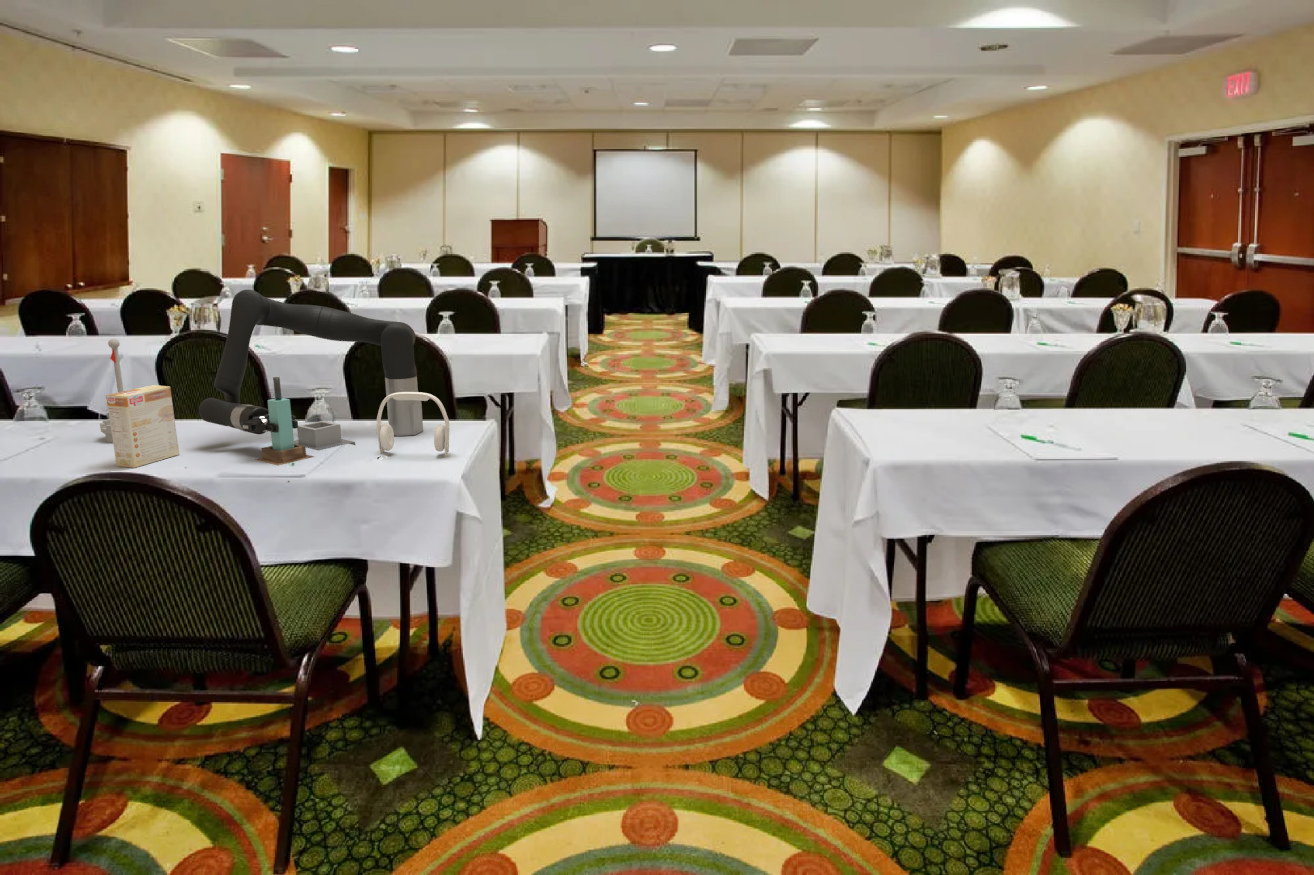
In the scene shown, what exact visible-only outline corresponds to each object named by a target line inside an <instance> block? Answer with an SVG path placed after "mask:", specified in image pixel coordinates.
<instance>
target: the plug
mask: <svg viewBox="0 0 1314 875" xmlns="http://www.w3.org/2000/svg"><path fill="white" fill-rule="evenodd" d="M280 378H281V377H280V376H274V377H272V380H273V381H272V382H273V390H274V398H272V399H268V400H267V410H269V420H270V423H274V424H277V425H278V430H279V432H277V433H274V432H270V438H271V446H272V448H273V449H274V450H278V451H282V450H286V449H291V448H295V447H294V441H295V439H294V428H293V427H292V417H291V415H292V410H291V409H292V408H291V399H289V398H286V397H282V389H281V379H280Z"/></svg>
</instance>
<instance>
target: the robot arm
mask: <svg viewBox="0 0 1314 875" xmlns="http://www.w3.org/2000/svg"><path fill="white" fill-rule="evenodd" d="M229 317H230V318H229V325H228V331H227V336H226V340H225V344H224V347H223V351H222V355H221V358H220V361H219V365H218V369H217V372H216V375H215V378H214V383H213V386H214V388H215V390H218V391H220V392H221V393H223V395H224V399H223V400H222V399H219V398H215V397H207V398H205V399H204V400H203V401H201V403H200V404H199V407H198V414H199V416H200V418H201V419H202V420H203V421H204V422H206V423H210V424H211V423H212V424H215V425H219V426H224V427H229V428H233V429H237V430H240V431H242V432H245V433H250V434H254V435H263V434H265V433H268V432H270V433H271V432H274V433H277V432H279V430H278V425H277V424H274V423H270V420H269V410H268V408H266V407H262V406H259V405H258V406H257V405H254V404H243V403H240V402H241V387H242V384H243V380H244V377H245V374H246V369H247V364H248V358H249V348H250V342H251V338H252V335H253V332H254V330H255V327H256V326H264V327H265V326H267V327H276V328H281V329H287V330H290V331H293V332H297V333H299V334H302V335H307V336H310V337H314V338H319V339H324V340H328V341H335V342H348V343H349V342H351V343H357V342H358V343H359V342H360V343H366V344H367V343H368V344H372V345H376V346H380V350H381V351H380V352H381V359H382V368H383V372H384V381H385V394H386V395H385V396H386V397H387V396H388V395H390V394H393V393H398V392H419V389H418V387H419V386H418V377H417V376H418V373H417V371H418V370H417V366H416V362H415V348H414V345H415V342H416V332H415V331H414V330H415V329H413V327H412V326H410V325H409V324H408V323H405V322H402V321H392V320H382V319H375V318H369V317H366V316H362V315H358V314H356V313H351V312H349V311H345V310H341V309H336V308H333V307H327V306H323V305H313V304H295V303H294V304H292V303H287V302H282V301H280V300H279V301H278V300H275V299H273V298H269V297H266V296H263V295H262V294H261V293H259V292H258V291H256V290H254V289H243V290H240V291H239V292H237V293H236V294H235V295H234V297H233V299H232V301H231V309H230V316H229ZM386 397H385V398H386ZM386 407H387V408H386V409H387V421H388V422H387V424H389V425H391V427H392V429H393V433H394V437H395V436H396V437H397V436H399V437H406V436H407V437H408V436H416V435H417V434H420V433H421V432H423V431H424V424H423V408H422V407H423V406H422V401H419V400H395V399H393V398H390V399H389V400H388V401H387V402H386ZM291 417H292V427H293V430H294V429H295V430H296V429H297V428H298V426H299V421H298V420H297V419H296V416H295V415H292V414H291Z"/></svg>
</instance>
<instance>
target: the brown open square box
mask: <svg viewBox="0 0 1314 875" xmlns="http://www.w3.org/2000/svg"><path fill="white" fill-rule="evenodd" d="M294 447H295V448H291V449H286V450H282V451H278V450H274V449H273V448H272V445H270V446H264V447H261V455H262V456H261V457H259V458H255V459H254V461H255V460H256V461H258V462H259V461H260V462H263V463H265V464H271V465H274V466H282V465H285V464H286V465H287V464H290V463H295V462H298V461H299V462H300V461H303V460H306V459H311V458H314V457H315V456H313V455H309V454H307V448H306V447H305V446H302V445H298V444H294Z"/></svg>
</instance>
